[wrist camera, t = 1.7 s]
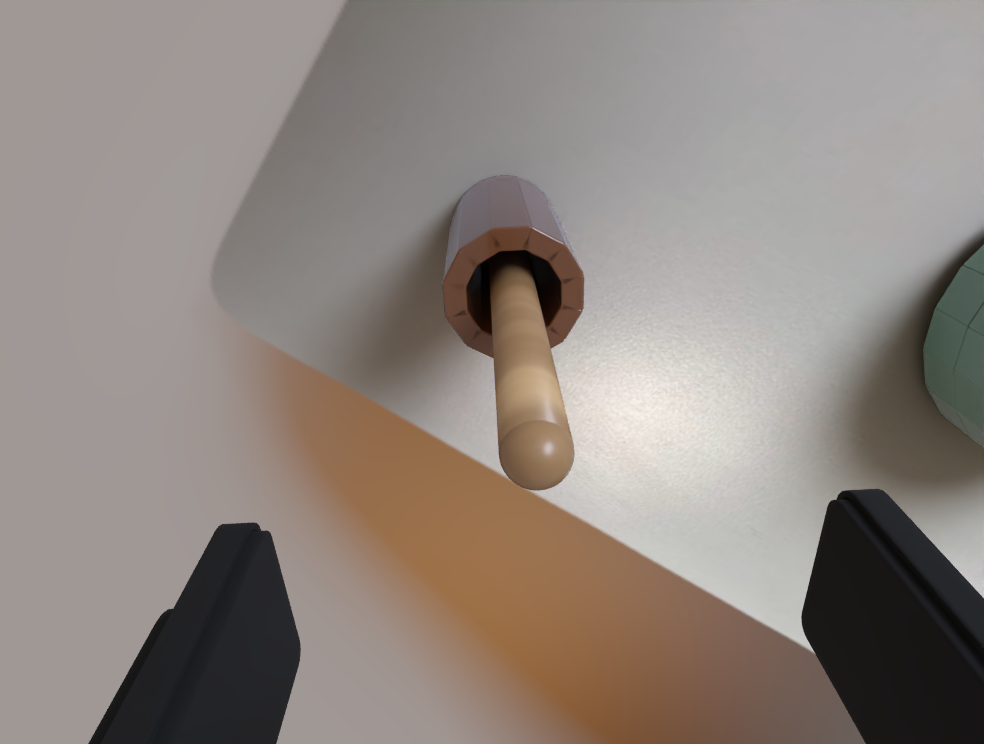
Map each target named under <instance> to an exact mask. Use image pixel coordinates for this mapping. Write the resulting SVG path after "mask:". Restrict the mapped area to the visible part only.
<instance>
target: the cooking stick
mask: <svg viewBox="0 0 984 744" xmlns="http://www.w3.org/2000/svg"><path fill="white" fill-rule="evenodd" d="M488 261H489V280H490V298H491V316H492V335H493V353H494V372H495V390H496V409H497V427H498V446H499V458H500V462H501V466H502V468H503V470H504V472H505V473H506V475H507V476H508V477H509V479H511V480H512V481H513V482H514V483H515V484H517V485H519V486H520V487H523V488H525V489H529V490H545V489H548V488H551V487H554V486H556V485H557V484H559V483H560V482H561V481H562V480H563V479H564V478H565V477H566V476H567V475H568V473H569V471H570V470H571V467H572V464H573V461H574V444H573V440H572V436H571V432H570V428H569V424H568V419H567V415H566V411H565V407H564V403H563V399H562V394H561V390H560V386H559V382H558V378H557V374H556V369H555V365H554V361H553V357H552V353H551V349H550V344H549V340H548V336H547V332H546V328H545V324H544V319H543V315H542V311H541V307H540V303H539V299H538V294H537V290H536V286H535V282H534V278H533V274H532V269H531V265H530V261H529V257H528V253H527V251H526V250H517V251H500V252H498V253H496V254H495V255H493V256H492V257H490V258H488Z"/></svg>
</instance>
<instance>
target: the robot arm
mask: <svg viewBox="0 0 984 744" xmlns="http://www.w3.org/2000/svg"><path fill="white" fill-rule="evenodd" d="M802 626H803V630H804V633H805V636H806V638H807V640H808V641H809V643H810V645H811V647H812V649H813V650H814V652H815V654H816V656H817V657H818V659H819V661H820V663H821V665H822V666H823V668H824V670H825V672H826V673H827V675H828V677H829V679H830V681H831V682H832V684H833V686H834V688H835V689H836V691H837V693H838V695H839V697H840V698H841V700H842V702H843V704H844V705H845V707H846V709H847V711H848V713H849V714H850V716H851V718H852V720H853V722H854V723H855V725H856V727H857V728H858V730H859V732H860V734H861V736H862V737H863V739H864V741H865V743H866V744H984V598H983V597H982V596H981V595H980V594H979V593H978V592H977V591H976V590H975V588H974V587H973V586H972V585H971V584H970V583H969V582H968V581H967V580H966V579H965V578H964V577H963V576H962V574H961V573H960V572H959V571H958V570H957V569H956V568H955V567H954V566H953V565H952V564H951V563H950V561H949V560H948V559H947V558H946V557H945V556H944V555H943V554H942V553H941V552H940V551H939V550H938V548H937V547H936V546H935V545H934V544H933V543H932V542H931V541H930V540H929V539H928V538H927V537H926V535H925V534H924V533H923V532H922V531H921V530H920V529H919V528H918V527H917V526H916V525H915V524H914V522H913V521H912V520H911V519H910V518H909V517H908V516H907V515H906V514H905V513H904V512H903V511H902V509H901V508H900V507H899V506H898V505H897V504H896V503H895V502H894V501H893V500H892V499H891V498H890V496H889V495H888V494H886V493H885V492H884V491H883V490H880V489H865V490H846V491H842V492H841V493H840V494H839V495H838V497H837V500H832V501H831V502H830V503H829V505H828V507H827V511H826V515H825V519H824V524H823V528H822V532H821V536H820V540H819V544H818V548H817V553H816V557H815V561H814V565H813V569H812V573H811V577H810V582H809V586H808V590H807V594H806V598H805V602H804V606H803V611H802ZM300 649H301V648H300V640H299V636H298V632H297V629H296V625H295V621H294V617H293V614H292V610H291V606H290V602H289V599H288V595H287V591H286V588H285V584H284V580H283V577H282V573H281V569H280V565H279V562H278V558H277V554H276V551H275V547H274V543H273V539H272V536H271V533H270V532H269V531H261V529H260V526H259V525H258V524H257V523H237V524H222V525H220V526H219V527H218V528H217V529H216V531H215V532H214V534H213V536H212V538H211V540H210V542H209V544H208V545H207V548H206V549H205V551H204V553H203V555H202V557H201V559H200V560H199V562H198V564H197V566H196V568H195V570H194V571H193V573H192V575H191V577H190V579H189V581H188V583H187V584H186V586H185V588H184V590H183V592H182V594H181V596H180V597H179V599H178V601H177V603H176V605H175V607H174V609H169V610H167V611H166V612H164V613H163V614H162V615H161V616H160V618H159V619H158V621H157V622H156V624H155V625H154V627H153V629H152V630H151V632H150V634H149V636H148V638H147V640H146V641H145V643H144V645H143V647H142V649H141V650H140V652H139V654H138V656H137V657H136V659H135V661H134V663H133V665H132V667H131V668H130V670H129V672H128V674H127V675H126V677H125V679H124V681H123V683H122V685H121V686H120V688H119V690H118V692H117V693H116V695H115V697H114V699H113V701H112V702H111V704H110V706H109V708H108V709H107V711H106V713H105V715H104V717H103V719H102V720H101V722H100V724H99V726H98V727H97V729H96V731H95V733H94V735H93V737H92V738H91V740H90V742H89V744H276V743H277V739H278V736H279V732H280V729H281V725H282V721H283V718H284V715H285V711H286V708H287V704H288V701H289V697H290V694H291V690H292V687H293V683H294V680H295V676H296V673H297V669H298V666H299V661H300Z"/></svg>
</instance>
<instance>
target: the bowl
mask: <svg viewBox="0 0 984 744" xmlns="http://www.w3.org/2000/svg"><path fill="white" fill-rule="evenodd" d="M923 357H924V372H925V385H926V387H927V389H928V391H929V393H930V395H931V396H932V398H933V400H934V402H935V404H936V406H937V407H938V409H939V411H940V413H941V414H942V415H943V416H944V417H945V418H947V419H948V420H949V421H950V422H952V423H953V424H954V425H955V426H956V427H958V428H959V429H960V430H961V431H963V432H964V433H965V434H966V435H968V436H969V437H970V438H972V439H973V440H974V441H975V442H976V443H978V444H979V445H980V446H981V447H983V448H984V245H982V246H981V247H980V248H979V249H978V250H977V251H976V252H975V253H974V254H973V255H972V256H971V257H970V258H969V259H968V260H967V261H966V262H965V263H964V266H961V268H960V269H959V271H958V272H957V274H956V276H955V277H954V279H953V280H952V282H951V284H950V285H949V287H948V288H947V290H946V291H945V293H944V295H943V296H942V298H941V299H940V301H939V302H938V304H937V306H936V308H935V310H934V313H933V316H932V320H931V323H930V326H929V330H928V333H927V337H926V340H925V343H924V347H923Z"/></svg>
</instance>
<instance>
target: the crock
mask: <svg viewBox="0 0 984 744" xmlns="http://www.w3.org/2000/svg"><path fill="white" fill-rule="evenodd" d="M517 250H526V251H527V253H528V257H529V261H530V265H531V269H532V274H533V278H534V282H535V286H536V290H537V294H538V299H539V303H540V307H541V311H542V315H543V319H544V324H545V328H546V332H547V336H548V340H549V344H550V349H551V348H553V347H554V346H556V345H558V344H559V343H561V342H563V341H564V339H566V337H567V336H568V334H569V332H570V331H571V329H572V328H573V326H574V324H575V323H576V321H577V320H578V318H579V316H580V315H581V313H582V310H583V308H584V275H583V271H582V269H581V267H580V265H579V263H578V260H577V258H576V256H575V254H574V252H573V249H572V247H571V245H570V243H569V241H568V239H567V236H566V234H565V232H564V230H563V228H562V226H561V223H560V221H559V219H558V217H557V215H556V213H555V212H554V210H553V208H552V206H551V204H550V202H549V200H548V199H547V197H546V196H545V194H544V193H543V192H542V191H541V190H540V189H539V188H538V187H536V186H535V185H534V184H532V183H531V182H529V181H527V180H525V179H522V178H519V177H516V176H509V175H501V176H494V177H490V178H487V179H484V180H482V181H480V182H478V183H477V184H475V185H474V186H472V187H471V188H470V189H469V190H468V191H467V192H466V193H465V194H464V195H463V197H462V198H461V200H460V201H459V203H458V205H457V207H456V210H455V213H454V217H453V219H452V221H451V226H450V233H449V240H448V247H447V254H446V262H445V269H444V276H443V283H442V286H443V297H444V308H445V316H446V318H447V320H448V322H449V323H450V324H451V326H452V327H453V328H454V330H455V331H456V332H457V334H458V335H459V337H460V338H461V339H462V341H463V342H464V343H465V344H466V345H467V346H468V347H470V348H472V349H475V350H477V351H479V352H481V353H483V354H486V355H488V356H490V357H492V358H494V353H493V335H492V316H491V298H490V280H489V261H488V258H490V257H492V256H493V255H495V254H496V253H498V252H500V251H517Z"/></svg>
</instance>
